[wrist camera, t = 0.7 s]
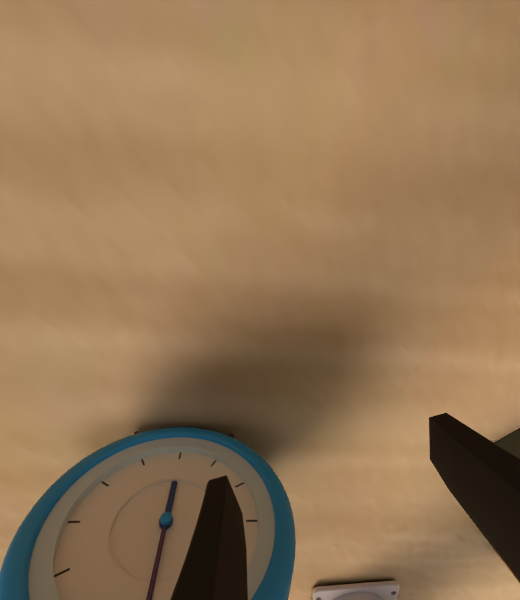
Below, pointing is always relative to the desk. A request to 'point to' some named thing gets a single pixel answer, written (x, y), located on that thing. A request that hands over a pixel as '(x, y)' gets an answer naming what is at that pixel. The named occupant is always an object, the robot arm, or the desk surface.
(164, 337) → the desk surface
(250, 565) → the alarm clock
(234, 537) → the robot arm
